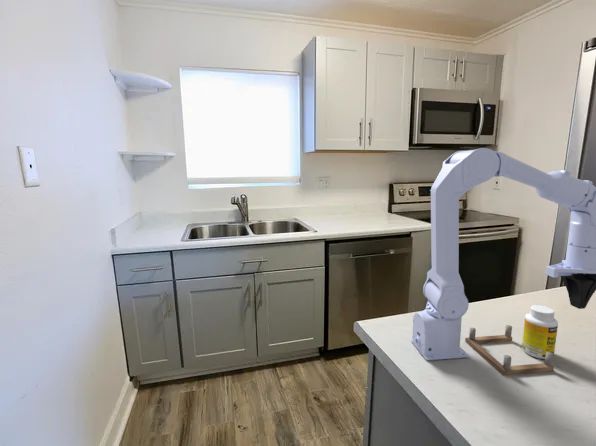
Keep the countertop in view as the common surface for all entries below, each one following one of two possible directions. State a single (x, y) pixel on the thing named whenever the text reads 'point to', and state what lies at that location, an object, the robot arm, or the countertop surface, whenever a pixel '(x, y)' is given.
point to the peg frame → (506, 367)
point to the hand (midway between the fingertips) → (577, 306)
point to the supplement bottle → (539, 331)
